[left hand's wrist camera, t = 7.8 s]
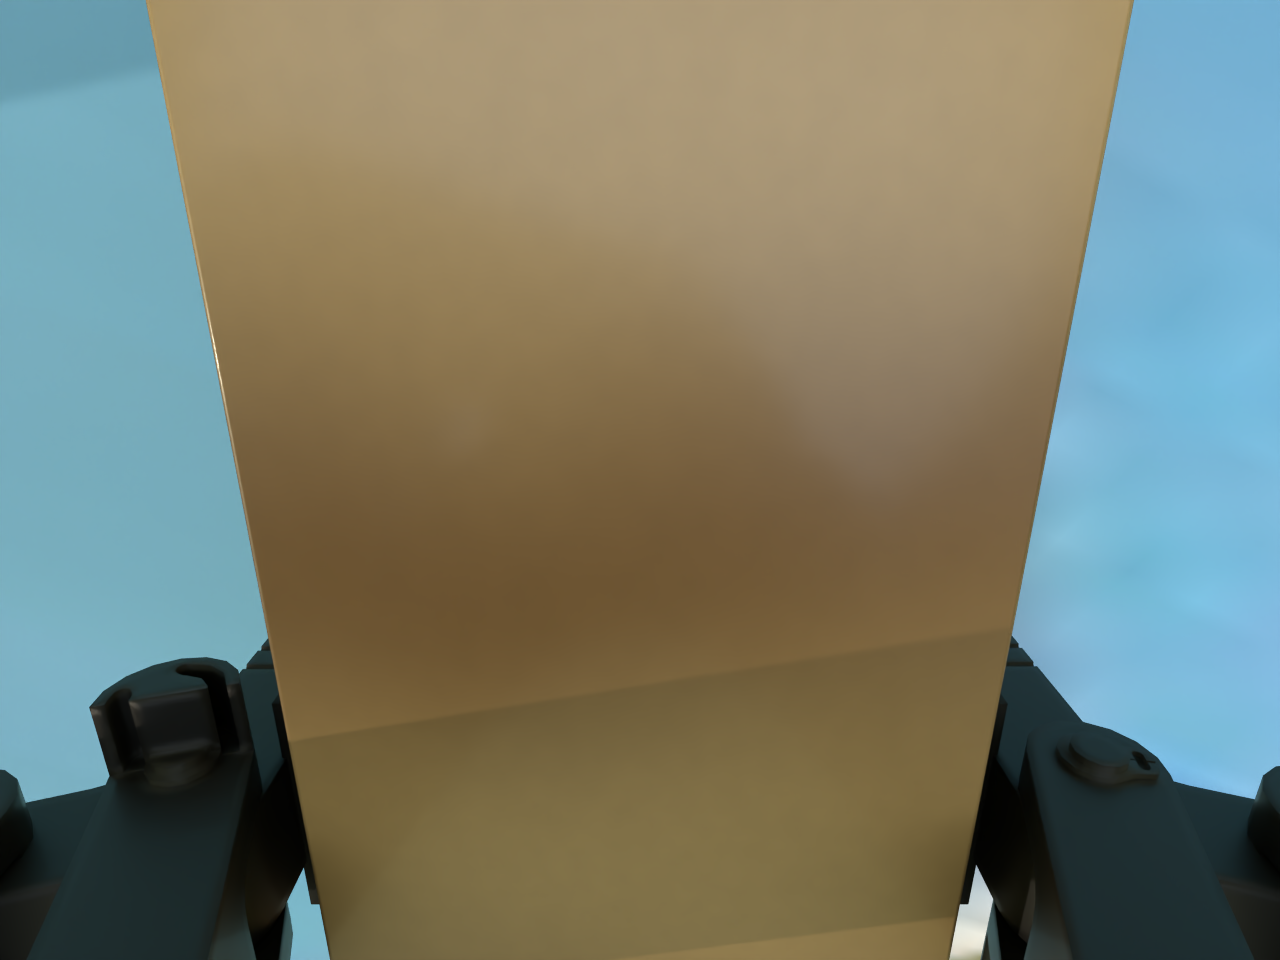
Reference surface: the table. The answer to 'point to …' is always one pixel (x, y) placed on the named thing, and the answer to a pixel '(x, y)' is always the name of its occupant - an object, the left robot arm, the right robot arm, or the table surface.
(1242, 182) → the table surface
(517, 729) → the bar
